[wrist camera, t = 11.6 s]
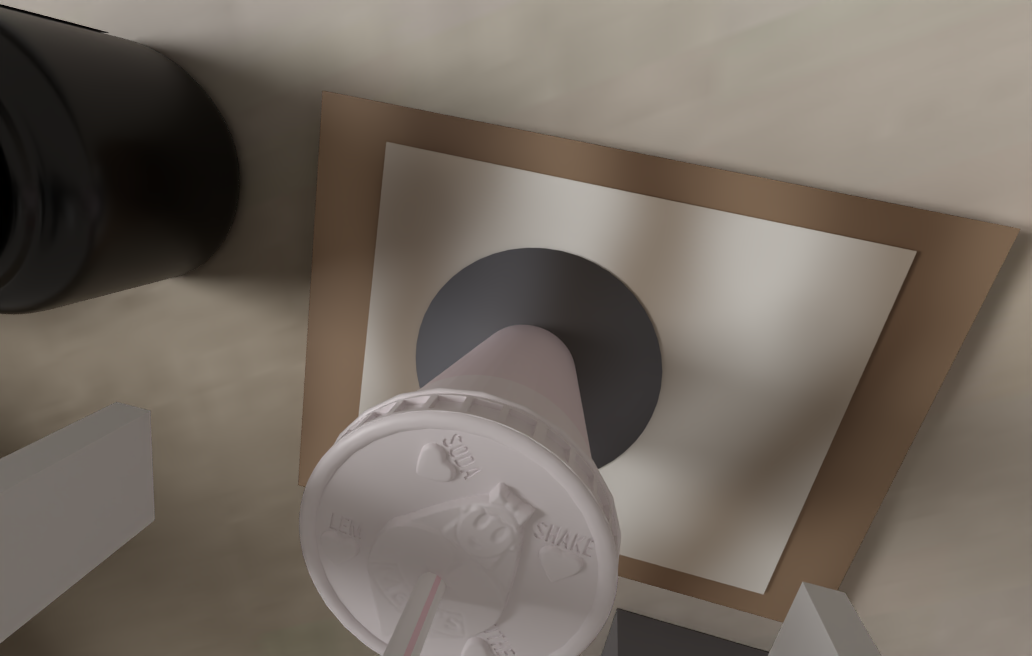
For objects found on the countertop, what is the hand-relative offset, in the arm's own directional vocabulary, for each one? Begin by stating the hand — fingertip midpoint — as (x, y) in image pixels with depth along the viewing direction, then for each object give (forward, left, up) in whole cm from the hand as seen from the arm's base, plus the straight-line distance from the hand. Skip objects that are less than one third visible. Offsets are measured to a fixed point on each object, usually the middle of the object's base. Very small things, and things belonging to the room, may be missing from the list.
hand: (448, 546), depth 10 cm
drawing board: (+2, 0, -11) cm, 11 cm away
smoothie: (0, 0, -9) cm, 9 cm away
